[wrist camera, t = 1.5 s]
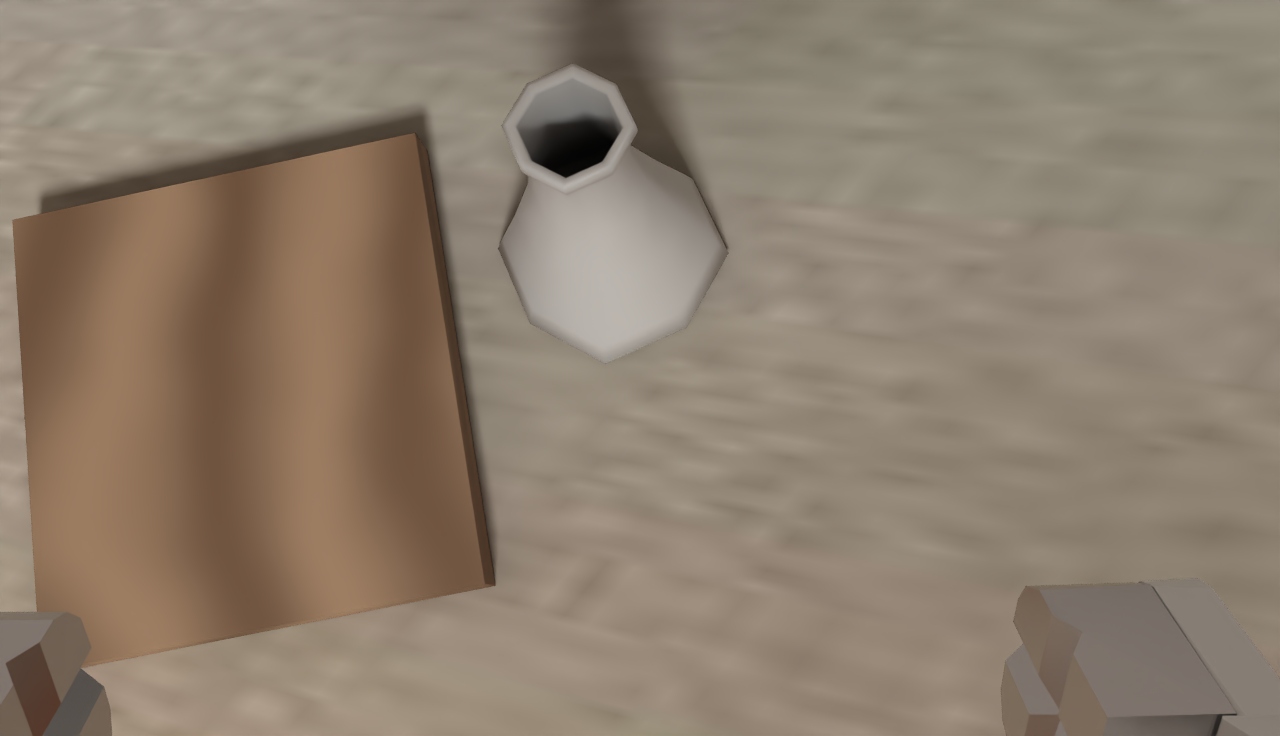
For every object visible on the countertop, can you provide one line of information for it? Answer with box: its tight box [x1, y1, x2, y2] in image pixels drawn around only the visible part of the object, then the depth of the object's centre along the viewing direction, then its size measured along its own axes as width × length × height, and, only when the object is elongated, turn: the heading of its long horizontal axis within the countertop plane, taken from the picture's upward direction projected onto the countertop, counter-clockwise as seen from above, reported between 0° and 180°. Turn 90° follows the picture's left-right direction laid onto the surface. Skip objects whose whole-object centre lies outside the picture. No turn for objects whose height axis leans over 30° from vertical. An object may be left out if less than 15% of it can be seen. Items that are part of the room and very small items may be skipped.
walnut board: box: [13, 133, 495, 668], centre depth 37 cm, size 14×15×2 cm
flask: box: [498, 63, 728, 364], centre depth 33 cm, size 7×7×10 cm
